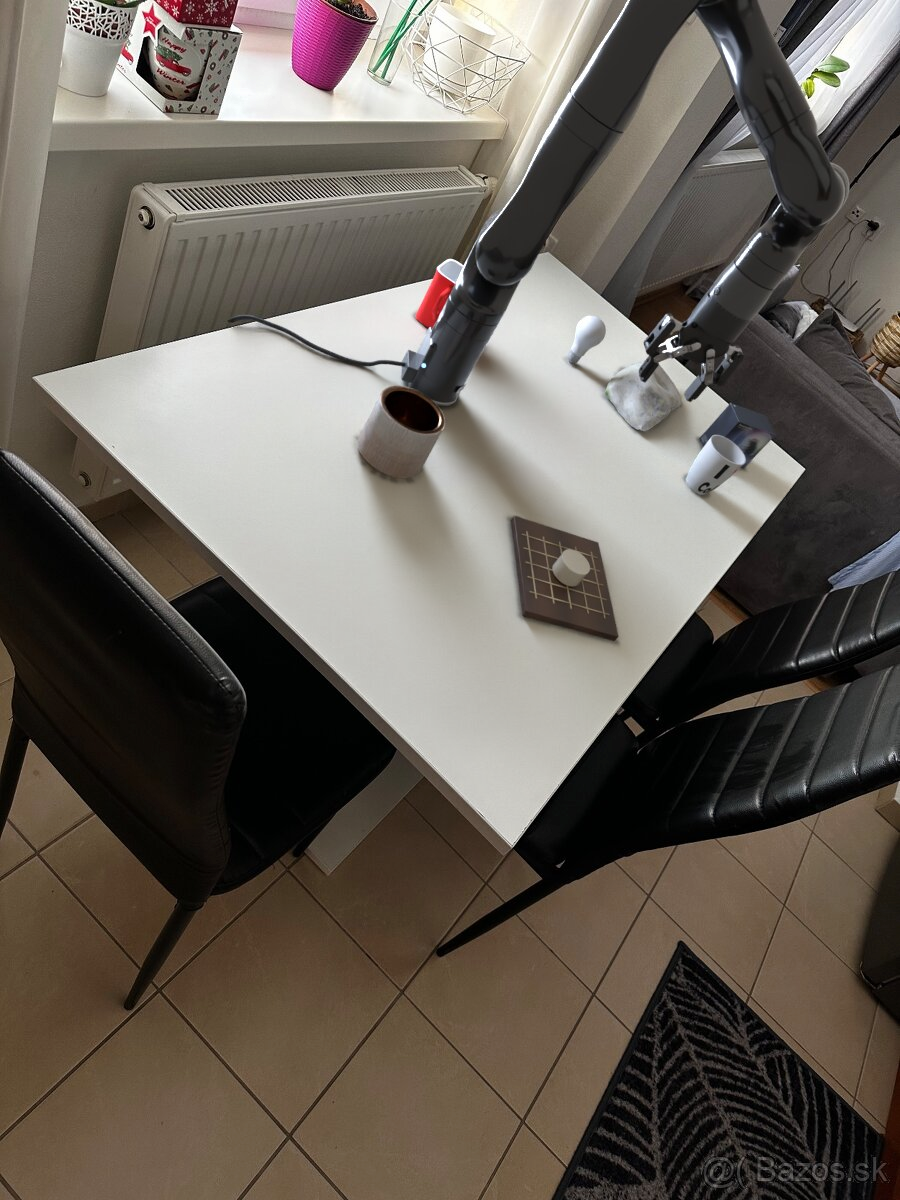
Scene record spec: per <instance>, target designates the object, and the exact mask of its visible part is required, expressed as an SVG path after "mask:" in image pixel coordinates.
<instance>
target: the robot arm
mask: <svg viewBox="0 0 900 1200" xmlns="http://www.w3.org/2000/svg"><path fill="white" fill-rule="evenodd" d="M693 14H695V15H696V16H697V18H698V19H699V20H700V22H701V23H702V25H703V26H704V27H705V29H706V30H707V32H708V33H709V35H710V38H711V39H712V41H713V43H714V44H715V45H714V46H715V47H716V48H717V51H718V53H719V56H720V58H721V60H722V62H723V66H724V68H725V71H726V74H727V77H728V80H729V84H730V85H731V91H732V92H733V93H732V94H733V96H734V97H735V101H736V103H737V107H738V109H739V111H740V113H741V116H742V118H743V121H744V122H745V124H746V126H747V129H748V130H749V132H750V135H751V136H752V139H753V141H754V142H755V145H756V146H757V148H758V150H759V152H760V153H761V155H762V156H763V158H764V160H765V162H766V166H767V168H768V172H769V175H770V177H771V181H772V184H773V187H774V189H775V192H776V195H777V198H778V200H779V203H778V205H777V206H776V208H775V209H774V211H773V212H772V213H771V215H770V216H769V218H768V219H767V220H766V221H765V223H763V224H762V225H761V226H760V227H759V228H758V229H757V230H756V231H755V232H754V233H753V234H752V235H751V236H750V238H748V240H747V242H746V243H745V244H744V245H743V247H742V248H741V249H740V250H739V252H738V254H737V255H736V256H735V257H734V259H732V261H731V262H730V263H729V264H728V265H727V266H726V267H725V268H724V269H723V271H722V272H721V273H720V274H719V275H718V277H717V278H716V279H715V281H714V282H713V283H712V285H710V287H709V289H708V290H707V291H706V293H705V294H704V295H703V297H702V298H701V299H700V301H699V302H698V303H697V304H696V306H695V307H694V308H693V310H692V311H691V313H690V315H689V316H688V318H687V319H686V320H683V322H682V321H680V320H678V319H676V318H674V316H673V313H671V312H667V313H666V314H665V315H664V316H663V317H662V318H661V320H660V321H659V322H658V323H657V324H656V326H655V327H654V328H653V329H652V331H651V332H650V333H649V334H648V336H647V337H646V338H645V339H644V340H643V346H644V349H645V353H646V355H648V356H647V357H646V359H645V360H643V361H644V363H643V364H642V365H641V367H640V368H639V377H640V380H641V381H642V382H646V381H647V380H648V379H649V378H650V376H651V375H652V374H653V372H654V371H655V370H656V368H657V367H658V366H659V365H660V363H661V362H664V361H665V360H668V359H675V358H678V357H681V358H682V359H685V360H688V361H691V362H692V363H693V364H696V365H697V366H698V365H701V368H700V369H701V372H700V374H701V375H699V374H698V375H697V376H696V377H695V378H694V380H693V381H692V382H691V384H690V385H689V386H688V388H687V389H685V391H684V394H683V395H684V399H685V401H686V402H689V403H691V402H693V400H694V401H695V400H697V399H698V398H699V397H700V396H701V395H702V393H703V392H704V391H706V388H708V386H711V385H716V386H717V387H723V386H724V385H725V384H726V382H727V381H728V380H729V379H730V377H731V376H732V375H733V373H734V372H735V371H736V369H737V368H738V367H739V366H740V365H741V364H742V361H743V360H744V359H745V355H744V352H743V351H742V348H741V346H740V345H738V344H736V345H733V346H732V345H731V344H733V343H734V342H735V341H736V340H737V339H738V338H739V336H740V335H741V334H742V333H743V332H744V330H745V329H746V328H747V327H748V326H749V324H750V323H751V322H752V321H753V319H754V318H755V317H756V316H757V315H758V314H759V313H760V311H761V310H762V308H763V307H764V306H765V305H766V303H767V302H768V301H769V299H770V297H771V295H772V294H773V293H774V291H775V290H776V289H777V288H778V286H779V285H780V284H781V283H782V282H783V280H784V279H785V278H786V276H787V275H788V274H789V272H791V270H792V269H793V267H794V266H795V265H796V263H797V262H798V260H799V259H800V258H801V255H802V254H803V252H804V251H805V250H806V249H807V248H808V247H809V246H810V244H812V242H813V241H814V240H815V239H816V238H817V237H818V236H819V235H820V234H821V233H822V231H823V230H824V229H825V228H826V227H827V226H828V225H829V223H830V222H831V221H832V220H833V219H834V218H835V217H836V215H837V214H839V212H840V211H841V209H842V208H844V206H845V204H846V202H847V199H848V197H849V194H850V180H849V176H848V174H847V172H846V171H845V170H844V169H843V167H842V166H840V165H838V164H836V163H833V162H831V161H830V159H829V157H828V155H827V153H826V151H825V149H824V147H823V144H822V142H821V141H820V138H819V136H818V124H817V120H816V117H815V115H814V113H813V111H812V109H811V106H810V104H809V102H808V100H807V98H806V96H805V93H804V92H803V90H802V88H801V85H800V84H799V82H798V80H797V78H796V76H795V74H794V72H793V71H792V68H791V66H790V64H789V63H788V61H787V59H786V57H785V55H784V54H783V52H782V50H781V48H780V46H779V44H778V42H777V40H776V38H775V36H774V33H773V32H772V30H771V27H770V26H769V23H768V21H767V19H766V16H765V13H764V11H763V9H762V7H761V4H760V1H759V0H627V1H626V3H625V5H624V6H623V9H622V10H621V11H620V13H619V15H618V17H617V19H616V20H615V21H614V23H613V25H612V26H611V27H610V29H609V30H608V32H607V33H606V35H605V36H604V37H603V39H602V40H601V42H600V43H599V45H598V46H597V48H596V49H595V50H594V52H593V54H592V56H591V57H590V58H589V60H588V62H587V63H586V64H585V66H584V68H583V69H582V71H581V72H580V73H579V75H578V77H577V78H576V79H575V81H574V82H573V84H572V86H571V87H570V89H569V90H568V91H567V93H566V95H565V97H564V99H563V100H562V102H561V103H560V105H559V107H558V108H557V109H556V111H555V112H554V115H553V116H552V118H551V119H550V122H549V123H548V126H547V127H546V129H545V131H544V133H543V135H542V137H541V139H540V141H539V143H538V145H537V147H536V149H535V151H534V154H533V156H532V159H531V161H530V164H529V165H528V167H527V170H526V172H525V174H524V176H523V178H522V180H521V182H520V184H519V185H518V187H517V189H516V190H515V192H514V194H513V195H512V197H511V198H510V199H509V200H508V201H507V203H506V204H505V206H504V207H503V208H500V209H499V210H496V211H494V212H493V213H492V214H491V215H490V216H489V217H488V218H487V219H486V221H485V222H484V224H483V226H482V227H481V230H480V232H479V234H478V236H477V238H476V240H475V242H474V243H473V246H472V247H471V250H470V252H469V254H468V256H467V258H466V260H465V261H464V264H463V268H462V270H461V272H460V274H459V276H458V278H457V280H456V282H455V285H454V287H453V289H452V291H451V293H450V295H449V297H448V299H447V301H446V303H445V305H444V307H443V309H442V311H441V313H440V315H439V317H438V319H437V321H436V323H435V325H434V327H429V328H427V331H426V333H425V335H424V337H423V339H422V341H421V343H420V345H419V347H418V349H417V351H416V352H415V351H413V350H411V349H407V350H406V352H405V355H404V357H403V359H402V360H401V361H399V360H398V361H397V360H390V359H378V360H374V361H361V360H357V359H352V358H348V357H346V356H344V355H340V354H338V353H336V352H333V351H330V350H328V349H326V348H324V347H321V346H319V345H317V344H315V343H313V342H311V341H309V340H307V339H306V338H304V337H302V336H301V335H299V334H297V333H295V332H294V331H292V330H290V329H288V328H286V327H284V326H282V325H278V324H276V323H274V322H271V321H268V320H266V319H263V318H261V317H258V316H254V315H251V314H241V315H240V314H239V315H235V316H232V317H230V318H228V319H227V320H226V321H227V322H228V323H230V324H231V323H235V322H239V321H253V322H257V323H259V324H261V325H264V326H266V327H270V328H272V329H275V330H277V331H280V332H283V333H284V334H287V335H289V336H290V337H292V338H294V339H296V340H297V341H299V342H301V343H302V344H304V345H306V346H308V347H309V348H311V349H313V350H316V351H317V352H320V353H323V354H325V355H327V356H330V357H332V358H334V359H337V360H339V361H342V362H345V363H348V364H351V365H355V366H360V367H361V366H362V367H375V366H379V365H390V366H398V367H401V381H404V382H407V387H409V388H412V389H415V390H417V391H419V392H421V393H423V394H424V395H426V396H427V397H429V398H430V399H431V400H433V401H434V402H435V403H436V404H437V405H438V407H450V406H452V405H454V404H455V403H456V401H457V400H458V398H459V396H460V393H461V391H463V390H464V389H465V387H466V385H467V383H466V382H467V380H468V379H469V377H470V375H471V373H472V372H473V370H474V368H475V367H476V365H477V364H478V361H479V359H480V357H481V356H482V355H483V353H484V350H485V349H486V347H487V345H488V343H489V342H490V340H491V338H492V336H493V335H494V332H495V331H496V329H497V328H498V326H499V324H500V322H501V320H502V319H503V317H504V315H505V313H506V311H507V309H508V307H509V305H510V303H511V301H512V299H513V296H514V294H515V293H516V291H517V288H518V287H519V285H520V283H521V281H522V280H523V279H524V278H525V277H526V276H528V274H529V273H530V271H532V269H533V267H534V265H535V263H536V261H537V259H538V256H539V255H540V252H541V250H542V249H543V247H544V245H545V244H546V242H547V240H548V238H549V237H550V235H551V233H552V231H553V229H554V228H555V226H556V225H557V223H558V222H559V219H560V218H561V217H562V215H563V214H564V212H565V211H566V210H567V209H568V207H569V206H570V204H572V203H573V201H574V200H575V199H576V198H577V197H578V195H579V194H580V193H581V192H582V190H583V189H584V188H585V186H586V185H587V184H588V183H589V181H590V180H591V179H592V177H593V176H594V175H595V174H596V173H597V171H598V170H599V169H600V167H601V166H602V164H603V163H604V162H605V160H606V159H607V157H608V156H609V155H610V153H611V152H612V150H613V149H614V148H615V146H616V145H617V144H618V142H619V140H620V139H621V138H622V136H623V135H624V133H625V131H626V130H627V128H628V127H629V126H630V124H631V122H632V121H633V119H634V117H635V115H636V113H637V111H638V109H639V107H640V105H641V103H642V101H643V98H644V96H645V94H646V91H647V89H648V87H649V85H650V82H651V79H652V77H653V75H654V73H655V70H656V68H657V66H658V64H659V61H660V60H661V58H662V56H663V55H664V53H665V52H666V50H667V49H668V47H669V46H670V44H671V42H672V41H673V39H675V37H676V36H677V34H678V33H679V32H680V31H681V29H682V28H683V26H684V25H685V24H686V22H687V21H688V20H689V19H690V17H691V16H692V15H693ZM675 332H677V334H676V335H674V333H675ZM669 335H670V336H671V337H669V338H668V336H669ZM673 335H674V336H673ZM675 346H677V347H675ZM722 356H724V359H723V360H722V361H721V363H720V364H719V365H718V366H717V368H716V369H715V359H718V358H721V357H722Z"/></svg>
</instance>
